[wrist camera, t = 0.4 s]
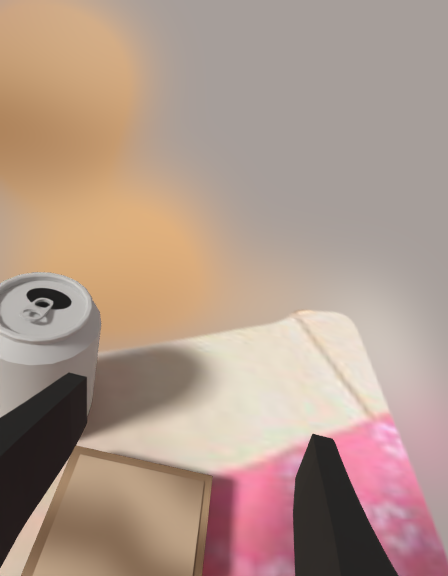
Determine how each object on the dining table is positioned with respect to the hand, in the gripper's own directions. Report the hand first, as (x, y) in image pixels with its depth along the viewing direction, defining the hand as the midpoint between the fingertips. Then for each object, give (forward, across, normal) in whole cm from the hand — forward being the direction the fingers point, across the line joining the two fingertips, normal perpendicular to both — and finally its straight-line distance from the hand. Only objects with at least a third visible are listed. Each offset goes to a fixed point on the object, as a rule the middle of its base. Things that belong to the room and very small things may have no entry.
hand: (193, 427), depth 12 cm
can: (+13, +14, +16) cm, 25 cm away
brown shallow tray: (+4, +4, +19) cm, 20 cm away
